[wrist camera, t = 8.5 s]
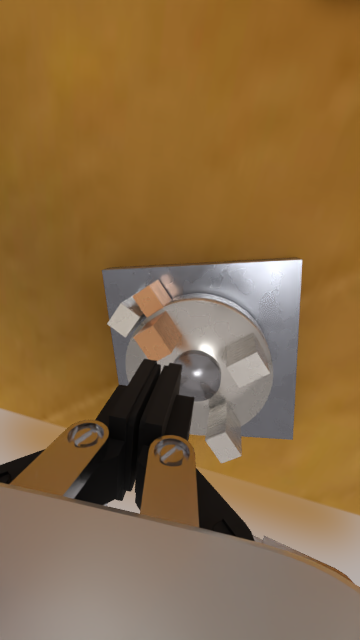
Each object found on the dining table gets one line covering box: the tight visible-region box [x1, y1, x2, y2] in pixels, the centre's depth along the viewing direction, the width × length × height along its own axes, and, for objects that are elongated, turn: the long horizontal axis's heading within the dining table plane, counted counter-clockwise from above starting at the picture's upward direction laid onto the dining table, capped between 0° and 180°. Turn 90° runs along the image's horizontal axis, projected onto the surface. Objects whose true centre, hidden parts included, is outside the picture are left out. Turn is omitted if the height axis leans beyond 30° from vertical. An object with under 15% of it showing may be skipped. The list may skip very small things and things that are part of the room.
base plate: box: [102, 258, 302, 440], centre depth 27 cm, size 18×18×6 cm
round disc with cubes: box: [125, 280, 273, 463], centre depth 24 cm, size 15×13×7 cm
